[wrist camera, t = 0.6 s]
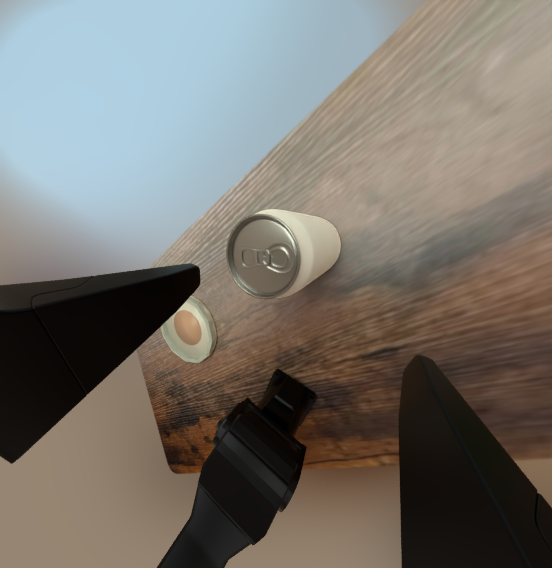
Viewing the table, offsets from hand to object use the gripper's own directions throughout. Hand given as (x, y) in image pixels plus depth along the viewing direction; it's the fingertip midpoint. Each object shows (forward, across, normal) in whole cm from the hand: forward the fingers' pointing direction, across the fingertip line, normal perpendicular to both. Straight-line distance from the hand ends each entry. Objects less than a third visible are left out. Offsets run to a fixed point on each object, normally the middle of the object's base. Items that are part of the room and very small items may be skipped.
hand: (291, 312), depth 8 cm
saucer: (+14, +19, +23) cm, 33 cm away
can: (+17, +3, +4) cm, 18 cm away
